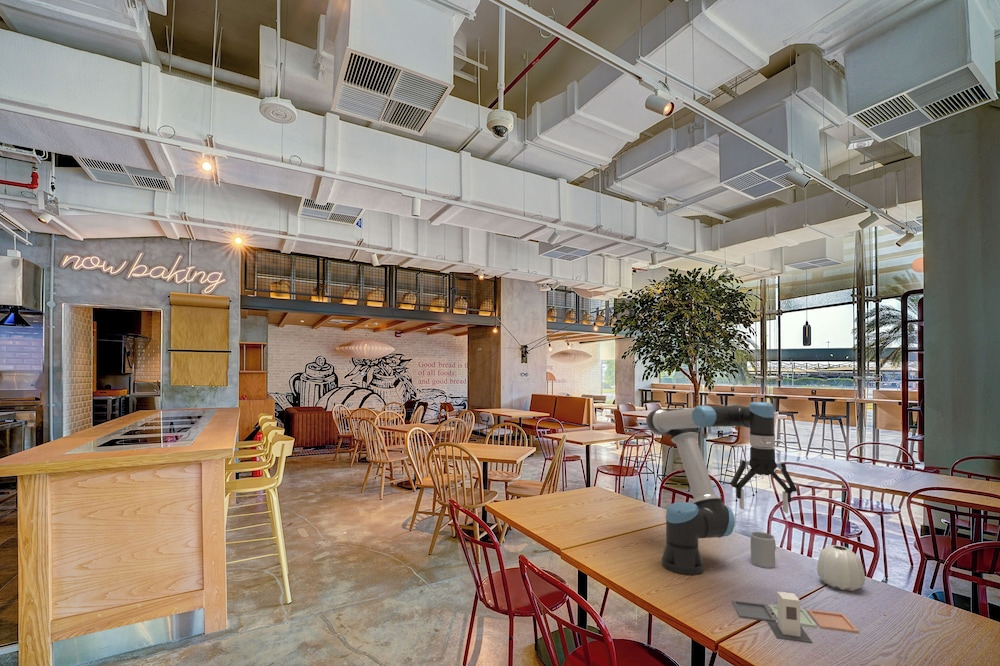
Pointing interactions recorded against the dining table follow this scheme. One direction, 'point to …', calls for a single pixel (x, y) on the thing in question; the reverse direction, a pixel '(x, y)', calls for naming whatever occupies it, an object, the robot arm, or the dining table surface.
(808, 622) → the tray sage
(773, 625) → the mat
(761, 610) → the tray charcoal
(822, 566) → the vase
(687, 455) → the robot arm
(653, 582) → the dining table surface
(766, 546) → the mug
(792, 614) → the letter block
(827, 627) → the tray terracotta
